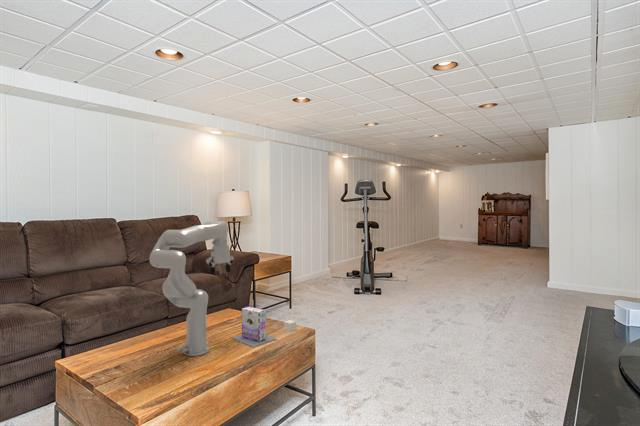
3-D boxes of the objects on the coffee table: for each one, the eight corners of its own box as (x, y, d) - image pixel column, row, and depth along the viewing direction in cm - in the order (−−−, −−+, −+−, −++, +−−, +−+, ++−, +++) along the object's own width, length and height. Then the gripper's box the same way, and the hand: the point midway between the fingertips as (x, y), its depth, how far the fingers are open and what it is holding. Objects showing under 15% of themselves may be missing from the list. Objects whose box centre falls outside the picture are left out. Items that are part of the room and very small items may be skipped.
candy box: (266, 339, 199) (266, 309, 198) (259, 342, 194) (259, 312, 194) (248, 334, 206) (248, 305, 206) (241, 337, 202) (241, 308, 201)
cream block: (289, 331, 212) (289, 323, 212) (284, 329, 215) (284, 321, 215) (296, 329, 216) (296, 321, 216) (290, 328, 219) (290, 319, 219)
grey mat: (253, 347, 188) (253, 346, 188) (231, 338, 201) (231, 337, 201) (276, 339, 199) (276, 338, 199) (255, 331, 213) (255, 330, 213)
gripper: (210, 244, 194) (210, 275, 195) (237, 242, 207) (237, 271, 207) (203, 243, 199) (203, 274, 200) (229, 241, 212) (229, 270, 212)
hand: (220, 273), depth 203 cm, fingers open, 9 cm apart
